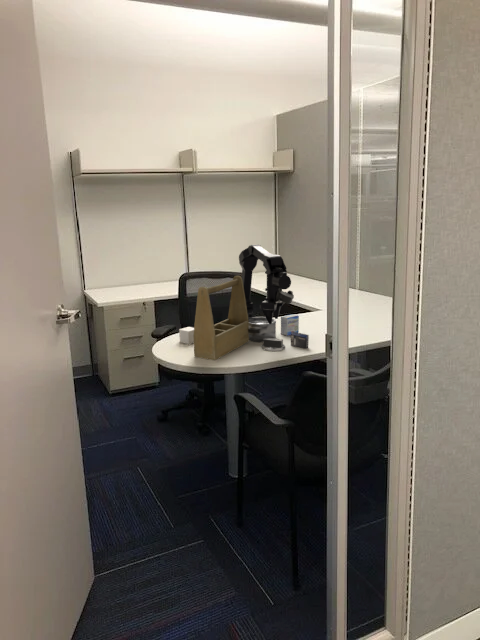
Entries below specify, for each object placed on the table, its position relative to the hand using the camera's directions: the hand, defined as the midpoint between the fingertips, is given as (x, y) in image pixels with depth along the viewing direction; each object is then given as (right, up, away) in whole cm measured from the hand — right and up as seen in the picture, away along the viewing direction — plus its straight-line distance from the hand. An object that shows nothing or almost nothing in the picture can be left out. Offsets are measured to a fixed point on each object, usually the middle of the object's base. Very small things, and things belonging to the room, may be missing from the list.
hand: (273, 321), depth 219 cm
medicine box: (+9, -6, +24) cm, 27 cm away
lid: (0, -12, +3) cm, 12 cm away
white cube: (-38, -9, +14) cm, 41 cm away
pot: (-5, -8, +18) cm, 20 cm away
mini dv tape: (+12, -11, +4) cm, 17 cm away
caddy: (-22, -12, +2) cm, 25 cm away
